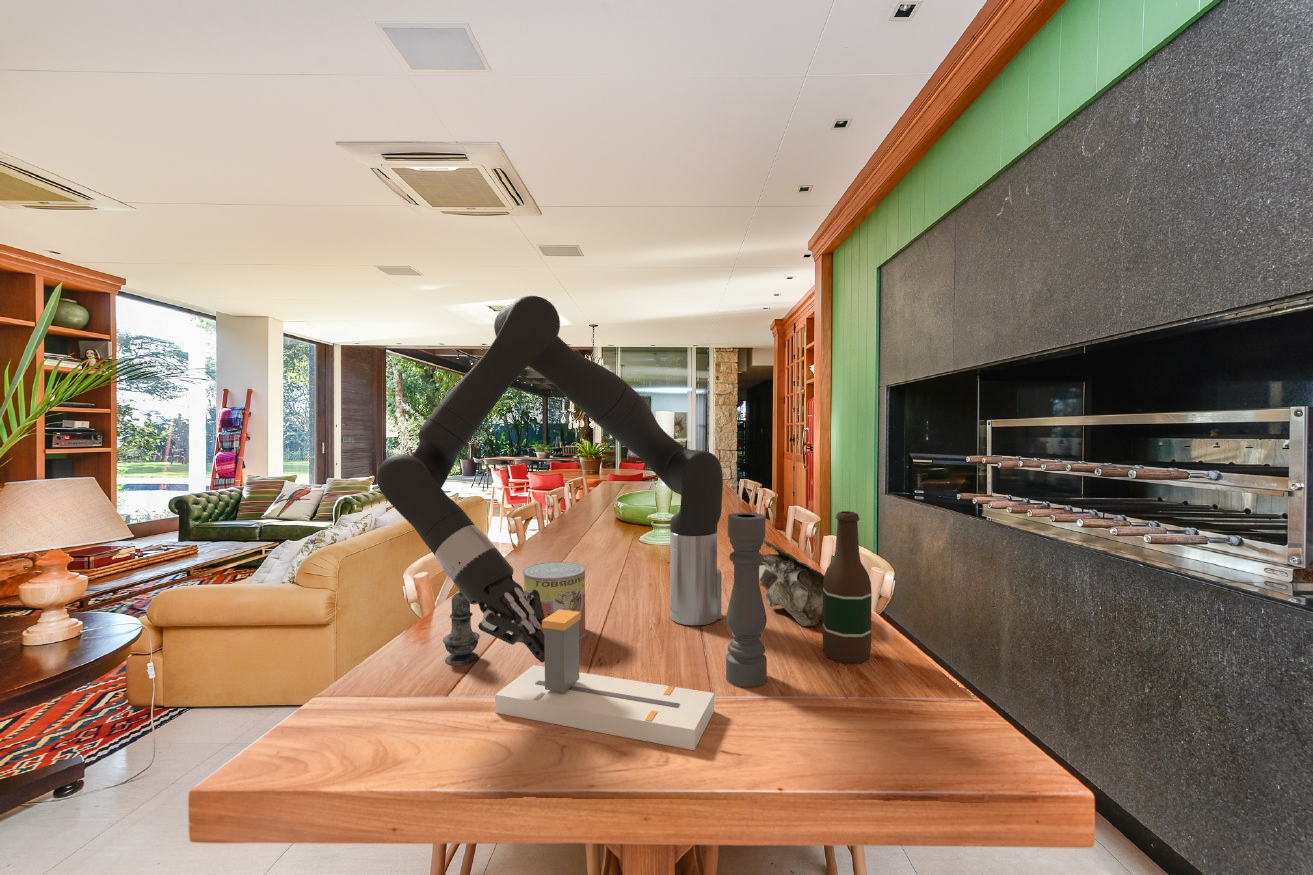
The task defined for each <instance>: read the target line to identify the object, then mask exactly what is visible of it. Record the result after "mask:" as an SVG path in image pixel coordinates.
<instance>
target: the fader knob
mask: <svg viewBox="0 0 1313 875" xmlns="http://www.w3.org/2000/svg"><path fill="white" fill-rule="evenodd" d="M580 619H581V612H577V611H569V610H560V609H559V610H557V611H556V612H554V613H553V614H551V615H550V616H548V617H547V618H545V619H544V620H542V628H544V646H545V662H544V667H545V689H546V690H552V691H558V692H564V693H565V692H566V691H567V690H568V689H569V688H570V687H571V686H572V685H573V684H574V683H576V682H577V681H578V680H579V672H580V640H579V620H580Z"/></svg>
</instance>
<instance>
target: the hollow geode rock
mask: <svg viewBox="0 0 1313 875" xmlns="http://www.w3.org/2000/svg"><path fill="white" fill-rule="evenodd" d="M763 541H764V543H763V544H765V545H766V546H765V548H766V549H767V548H771V549H772V550H774V551H775V552H776V554H775V553H768V554H762V555H763V556H764V560H763V561H762V562H761V563H760V565H759V586H760V587H763V588H764V589H765V591H767V592H766V595H765V596H766V602H767V605H768V606H770V607H775V606H781V607H782V608H783V609H784V610H786V611H787V613H789V614H790V615H791V616H792V617H793V618H794V620H795V621H796V623H798V624H799V625H801V626H802V627H815V626H816V625H817V624H819V623H820V621H823V581H824V575H825V574H823V573H821V572H820V571H818V570H816V569H815V568H812V566H810V565H808V564H807V563H805V562H802V561H800V560H799V559H798V558H797V557H796V556H793V555H792V554H791V553H790V552H789V553H788V552H786V551H785V550H783V549H782V548H780V547H778V546H776V545H775V544H773V543H771V542H769V541H767V540H764V539H763Z"/></svg>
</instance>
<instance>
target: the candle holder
mask: <svg viewBox="0 0 1313 875" xmlns="http://www.w3.org/2000/svg"><path fill="white" fill-rule="evenodd" d="M766 519H767V518H766V515H765V514H763V513H756V512H754V513H753V512H734V513H730V514H728V515H727V538H729V543H730V544H731V547H732V549H733V551H732V552H731V553H729V558H728V559H729V561H731V562H732V564H733V585H732V590H731V594H730V598H729V603H728V607H727V610H726V615H725V616H726V620H725V621H726V625H727V626H728V628H729V629H730V631H731V636H732V637H733V638H732V639H731V640H730V642H729V643H728V644H727V651H728V652H727V653H726V654H725V655H726V656H725V659H726V660H725V671H726V672H725V679H726V681H727V683H729V684H731V685H733V686H735V687H739V688H745V689H746V688H747V689H754V688H759V687H762V686H764V685H765V684H766V683H767V681H768V679H767V678H768V676H767V674H768V671H767V670H768V665H767V664H768V663H767V662H768V660H767V656H766V655H765V653H766V647H765V645H764V644H763V642H762V641H761V637H762V634H761V633H762V632H763V631H764V629H765V628H766V627H767V623H768V622H767V621H768V618H767V613H766V609H765V603H764V599H763V596H762V591H761V586H760V583H759V565H760V563H761V562H762V561H763V560H764V556H763V555H764V554H763V553H761V552H760V551H761V549H762V546H763V544H765V543H764V541H763V540H764V539H766Z"/></svg>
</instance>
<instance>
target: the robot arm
mask: <svg viewBox="0 0 1313 875" xmlns="http://www.w3.org/2000/svg"><path fill="white" fill-rule="evenodd" d="M493 327H494V328H493V329H494V333H495V338H494V340H493V342H492V343H491V345H490V346H489V348H488V349H487V350H486V352H485V353H484V354H483V355H482V356H481V358H480V359H479V360H478V362H476V363H475V365H474V366H473V367H472V368H471V369H470V370H469V371H468V372H467V373H466V374H465V375H464V376H463V377H462V378H461V379H460V380H459V381H458V382H457V383H456V384H455V386H454V387H452V388H451V389H450V391H449V392H448V393H447V394H446V395H445V396H444V398H443V399H442V400H441V401H440V402H439V403H438V404H437V406H436V407H435V409H434V410H433V411H432V412H431V414H429V416H428V417H427V419H426V420H425V422H423V424H422V425H421V427H420V429H419V431H418V439H419V444H418V446H417V448H416V450H415V451H414V453H413V455H411V454H406V453H399V454H394V455H391V456H389V457H387V458H386V459H385V460H383V462H382V463H381V464H380V466H379V468H378V469H377V474H376V482H377V486H378V487H377V488H378V490H379V491H380V493H381V494H382V495H383V496H384V498H385V499H386V500H387V501H388V502H389V504H390V505H391V506H392V507H393V508H394V509H395V510H396V511H397V512H398V513H399V514H400V515H401V516H402V517H403V518H404V519H405V520H406V521H407V522H408V523H409V524H410V525H411V526H412V527H413V529H414V530H415V531H416V532H417V533H418V535H419V537H420V539H421V540H422V541H423V542H424V544H425V545H426V546H427V548H428V549H429V550H430V552H431V553H432V554H433V555H434V556H435V558H436V560H437V561H438V562H439V565H440V566H441V568H442V569H443V572H445V574H446V575H448V577H449V579H451V581H452V582H453V584H454V585H455V586H456V587H457V589H458V591H459V590H460V591H461V592H462V594H463V595H464V596H465V597H466V599H467V600H468V601H469V603H470V605H478V608H479V610H480V611H481V613H483V616H482V620H481V621H480V622H479V623H478V625H477V626H478V629H479V630H480V631H482V632H484V633H485V634H488V635H490V636H492V637H495V638H496V639H499V640H501V641H503V642H505V643H507V644H509V645H511V646H513V645H514V646H515V644H517V643H520V644H522V645H525V647H527V648H528V650H529V651H530V652H531V654H532V655H533V656H534V658H535V659H536V660H538V662H540V663H541V664H542V663H545V646H544V633H543V632H542V631H541V625H542V620H544V619H545V617H544V613H543V609H542V604H541V600H540V595H539V592H538V591H537V590H535V589H534V590H532V592H527V591H524V587H522V586H521V584H520V583H518V582H516V581H515V580H514V579H513V575H514V572H515V571H514V570H515V569H514V568H513V567H512V565H511V564H510V562H508V561H507V559H506V558H505V557H504V555H502V553H501V552H500V551H499V550H498V548H497V547H496V546H495V545H494V544H493V542H492V541H491V540H490V538H488V537H487V535H486V534H485V533H484V532H483V531H482V530H480V529H479V527H478V526H477V525H475V523H474V522H473V520H471V518H470V517H469V516H468V514H467V513H466V512H465V511H464V510H463V509H462V507H461V506H460V505H458V504H457V503H456V502H455V501H454V500H453V499H451V498H450V497H449V496H448V495H447V493H446V492H445V491H444V490H443V486H444V484H445V483H446V480H447V479H448V476H449V475H450V473H451V471H452V469H453V467H454V465H455V463H456V461H457V458H458V456H459V454H460V453H461V452H462V451H463V450H464V448H465V447H466V445H467V444H468V443H469V441H471V439H472V437H474V435H475V434H476V432H477V431H478V429H480V427H481V426H482V425H483V422H484V421H485V420H486V419H487V417H488V416H489V414H491V412H492V410H493V409H494V408H495V406H496V405H497V404H498V402H499V401H500V400H501V398H502V396H503V395H504V394H505V393H506V392H507V391H508V389H509V387H511V386H512V385H513V384H514V382H515V381H516V379H518V378H519V376H520V375H521V374H522V373H523V372H524V371H525V370H526V368H527V367H529V368H530V369H532V370H533V371H535V372H536V373H537V374H539V375H540V376H542V377H543V378H545V379H546V380H548V382H549V383H551V384H552V385H553V386H554V387H555V388H557V390H558V391H559V392H561V393H562V394H563V396H565V397H566V398H567V399H568V400H569V401H570V402H572V403H573V404H574V405H575V406H576V407H577V408H578V409H579V410H580V411H582V412H583V413H584V414H585V415H586V416H587V417H588V419H589V418H590V420H591V421H593V422H594V423H595V425H597V426H599V427H600V428H601V429H602V430H603V431H604V432H606V433H607V434H609V435H610V436H611V437H613V439H615V440H616V441H617V442H618V443H620V444H621V445H622V446H624V447H625V448H626V449H627V450H629V451H630V452H632V453H633V454H635V455H636V457H638V458H640V459H641V461H643V462H644V463H645V464H646V465H647V466H648V467H649V468H650V470H652V471H653V473H654V474H655V476H657V477H658V478H659V479H660V480H661V482H663V484H665V485H666V487H667V488H668V489H670V491H672V492H674V493H675V494H678V495H680V504H679V505H680V508H679V511H678V513H677V514H674V515H673V516H671V518H670V524H669V527H670V528H669V529H670V530H669V533H670V534H669V535H670V536H669V539H670V542H669V545H670V546H669V547H670V552H669V553H670V555H669V556H670V558H669V559H670V567H669V568H670V578H669V579H670V580H669V581H670V607H669V608H670V619H671V620H672V621H673V622H675V623H677V624H681V625H685V626H705V625H709V624H713V623H715V622H716V621H718V620H722V604H723V603H722V599H723V598H722V594H723V593H722V584H723V583H722V580H723V579H722V570H721V569H719V568H718V524H719V521H720V520H721V516H722V510H723V509H722V507H723V489H724V488H723V487H724V475H723V474H724V473H723V469H722V464H721V461H720V460H719V458H718V457H717V456H716V455H715V454H713V453H712V452H709V451H705V450H697V449H691V448H687V447H685V446H684V445H682V444H681V443H679V442H678V441H677V440H675V439H674V438H673V437H672V436H670V435H669V434H668V433H667V432H666V431H664V429H663V428H662V427H661V425H660V424H659V423H658V421H657V419H656V417H655V415H654V413H653V411H652V410H651V408H650V406H649V405H648V403H647V401H645V399H644V397H642V396H641V395H640V394H639V393H638V392H637V391H636V390H635V389H634V388H633V387H631V385H629V384H628V383H627V382H626V381H625V380H624V379H622V378H621V377H620V376H619V375H617V374H616V373H614V372H613V371H611V370H609V369H607V368H606V367H604V366H602V365H600V364H598V363H596V362H595V361H592V360H591V359H588V358H587V357H585V356H583V355H581V354H580V353H578V352H576V350H574V349H572V348H571V347H570V346H569V345H568V344H567V343H565V341H564V340H562V339H561V337H559V336H558V335H559V333H560V328H561V320H560V315H559V312H558V311H557V309H556V307H555V306H554V305H553V303H552V302H551V301H549V300H548V299H546V298H544V297H541V296H537V295H527V296H522V297H519V298H517V299H515V300H514V301H512V302H511V303H509V304H508V305H506V306H504V307H503V308H502V309H501V310H500V311H498V314H497V315H496V317H495V320H494V324H493ZM535 616H536V618H535Z"/></svg>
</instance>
